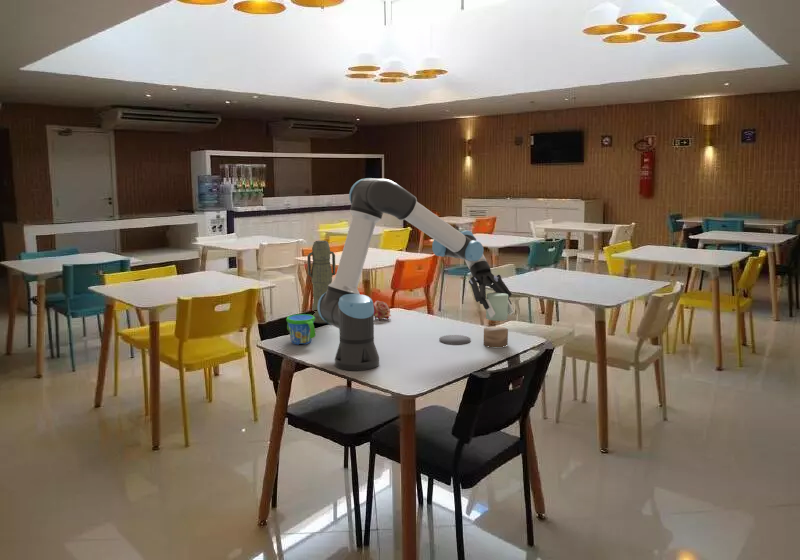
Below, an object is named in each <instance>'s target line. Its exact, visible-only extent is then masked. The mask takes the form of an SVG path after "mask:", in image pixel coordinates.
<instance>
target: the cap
mask: <svg viewBox="0 0 800 560" xmlns="http://www.w3.org/2000/svg"><path fill="white" fill-rule="evenodd" d="M486 299H488V300H489V301H490V303H491V305H492V307H493V310H494V312H495V315H494V316H493V317H492V318H490V316H489V314H488V312H487V309H485V319H486V320H487V321H488V320H489V321H493V322H494V321H496V322H498V321H499V322H501V321H507V320H508V316H509V314H508V294H505V293H496V292H489V293H486Z"/></svg>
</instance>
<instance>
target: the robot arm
mask: <svg viewBox="0 0 800 560" xmlns="http://www.w3.org/2000/svg"><path fill="white" fill-rule="evenodd" d="M348 196H349V197H348V199H349V201H350V204H351V205H350V208H349V212H350V214H351V219H350V220H351V222H350V225H349V228H348V231H347V234H346V239H345V241H344V245H343V249H342V252H341V257H340V260H339V263H338V267H337V268H336V269H337V270H336V272H335V275H334V276H335V277H334V281H332V282H331V284H329V285H328V288H327V292H325V293H324V294H323V295H322V296H321V297H320V299H319V301H318V306H317V308H318V313H319V315H320V317H321V318H322V319H323V320H324V321H325V322H326V323H325V324H328V325H330V326H333V327H335V328H337V329H338V330H339V344H338V347H337V350H336V354H335V358H334V366H335V367H336V368H337V369H340V368H341V369H340V370H345V371H353V372H355V371H356V372H357V371H366V370H367V371H368V370H371V369H374V368H377V367H378V366H379V365H380V356H379V353H378V349H377V347H376V343H375V322H374V321H375V320H374V319H375V316H374V306H373V304H374V301H373V299H372V298H371V297H369V296H368V295H365V294H360V291H359V289H358V287H359V283H360V279H361V276H362V272H363V269H364V267H365V266H364V265H365V261H366V259H367V255H368V252H369V247H370V245H371V241H372V237H373V235H374V230H375V227H376V224H377V223H379V222H380V221H382V218H383V214H387V215H390V216H393V217H394V218H396V219H397V220H400V221H406V222H407V223H408V224H411V225H412V226H413V227H415V228H417V229H418V230H420V231H421V232H422V233H424V234H426V235H427V236H429V238H431V239H433V241H432V243H431V244H432V247H431V248H432V249H431V250H432V252H433V254H434V255H435V256H437V257H449V258H454V259H461V260H464V261H465V264H466V266H467V267H468V269H469V272H470V274H471V277H470V278H469V280H468V283H469V284H470V286H471V289H472V292H473V296H474V299H475V302H476V303H479V304H480V305H482V306H483V309H484V310H486V309H487V312H488V314H489V316H490V318H492V317H493V316H494V315H495V312H494V310H493V307H492V305H491V303H490V301H489V300H488V299H487V292H486V291H487V290H486V289H487V288H486V287H489V288H490V289H492V290H493V291H494V293H505V294H508V316H512V315H513V313H514V312H515V310H514V308H513V305H512V304H513V303H512V302H511V299H510V297H512V292H511V291H510V289H509V288H508V286H507V285H506V284H505V282H504V281H503V279H502V276H501V274H497V275H494V274H493V273H492V270H491V268H492V267H490V265H489V263H488V261H487V258H486V257H485V255H484V251H485V250H484V246H483V244H482V243H481V242H480V241H477V238H476V237H475V236H474V233H473V232H472V231H470V230H468V229H467V230H464V231H459V230H458V229H457V228H454V227H453V226H452V225H451V224H449V223H448V222H446V221H445V220H444V219H442V218H441V217H440V216H438V215H437V214H435V213H434V212H432V211H431V210H429V209H428V208H426V207H425V206H424V205H423V204H421V203H420V202H418V199H417V197H416V196H415V195H414V194H412V193H411V192H410V191H408V190H407V189H405V188H404V187H402V186H401V185H399V184H398V183H397V182H394V181H393V180H391V179H387V178H374V177H373V178H372V177H366V178H361V179H359V180H357V181H356V182H355V183H353V185H352V186H351V187H350V190H349V194H348Z"/></svg>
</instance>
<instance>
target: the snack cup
mask: <svg viewBox="0 0 800 560" xmlns="http://www.w3.org/2000/svg"><path fill="white" fill-rule="evenodd" d="M285 320H286V323H287V324H286V329H287V331H288V332H289V336H290V337H289V338H290V342H291V344H293V345H296V346H300V345H299V344H305V345H308V344H310V343H311V342H312V340H313V339H314V338H315V337H316V329H315V325H314V323H315V322H314V320H315V317H314V316H313V315H312V314H309V313H307V314H306V313H299V314H290V315H288V316H287V317H286V319H285Z"/></svg>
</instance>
